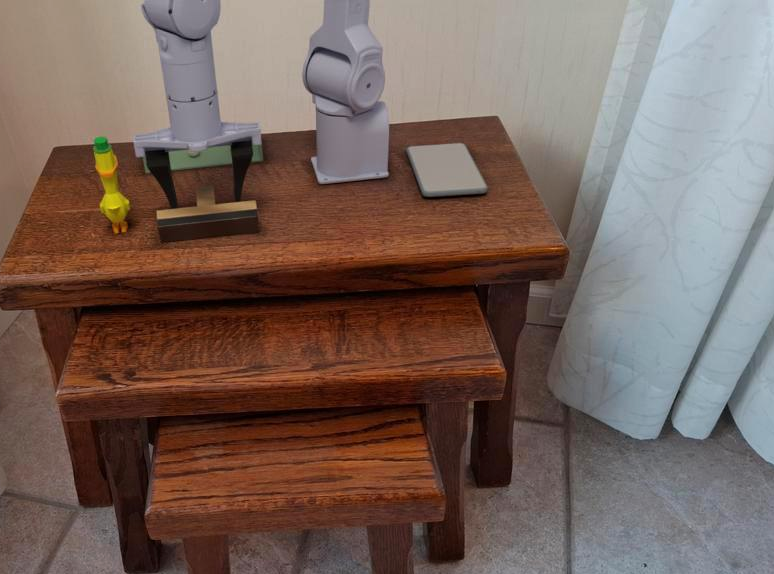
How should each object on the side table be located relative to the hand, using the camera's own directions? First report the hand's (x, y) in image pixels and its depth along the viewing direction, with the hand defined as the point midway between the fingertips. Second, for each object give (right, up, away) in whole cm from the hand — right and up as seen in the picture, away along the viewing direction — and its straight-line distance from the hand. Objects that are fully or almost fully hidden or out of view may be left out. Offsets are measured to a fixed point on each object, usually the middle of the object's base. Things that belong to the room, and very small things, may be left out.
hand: (206, 205), depth 93 cm
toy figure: (-11, -2, +3) cm, 12 cm away
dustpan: (-2, +12, +19) cm, 23 cm away
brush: (0, -3, -1) cm, 4 cm away
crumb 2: (+3, +13, +18) cm, 22 cm away
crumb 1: (-3, +12, +17) cm, 21 cm away
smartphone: (+31, +6, +9) cm, 33 cm away
